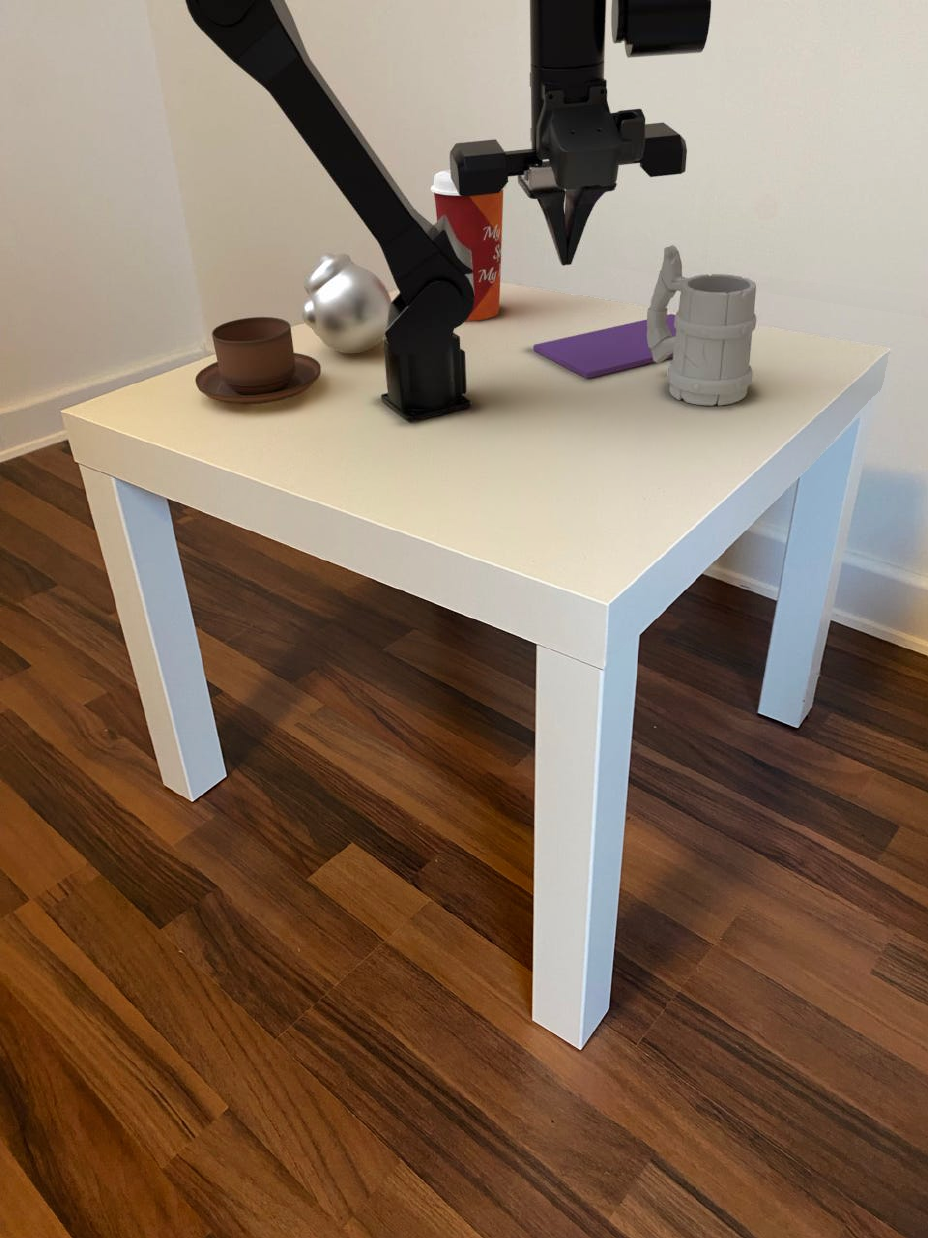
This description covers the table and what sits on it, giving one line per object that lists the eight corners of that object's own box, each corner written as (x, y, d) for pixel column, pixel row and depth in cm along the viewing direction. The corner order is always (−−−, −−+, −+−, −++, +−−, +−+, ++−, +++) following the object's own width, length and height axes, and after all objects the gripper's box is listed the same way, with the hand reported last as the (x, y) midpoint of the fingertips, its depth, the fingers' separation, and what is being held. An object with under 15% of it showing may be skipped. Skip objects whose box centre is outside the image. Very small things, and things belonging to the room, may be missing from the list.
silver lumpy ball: (345, 331, 110) (335, 238, 104) (412, 345, 105) (405, 248, 99) (289, 356, 104) (275, 258, 98) (357, 371, 99) (346, 270, 93)
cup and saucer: (178, 390, 96) (165, 328, 93) (285, 361, 102) (276, 301, 99) (233, 426, 88) (221, 360, 85) (346, 392, 94) (339, 328, 91)
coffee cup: (509, 322, 110) (507, 178, 101) (436, 325, 110) (428, 182, 102) (507, 300, 117) (505, 164, 108) (439, 303, 117) (431, 167, 109)
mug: (711, 414, 86) (726, 275, 79) (617, 379, 94) (623, 249, 87) (768, 392, 90) (787, 257, 83) (673, 360, 98) (683, 234, 91)
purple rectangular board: (587, 378, 95) (587, 372, 94) (533, 350, 102) (533, 344, 102) (732, 343, 101) (732, 337, 101) (671, 318, 109) (671, 313, 108)
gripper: (464, 94, 69) (475, 310, 78) (720, 69, 70) (699, 284, 80) (443, 65, 77) (455, 263, 87) (671, 44, 79) (658, 241, 89)
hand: (565, 263), depth 85 cm, fingers closed
